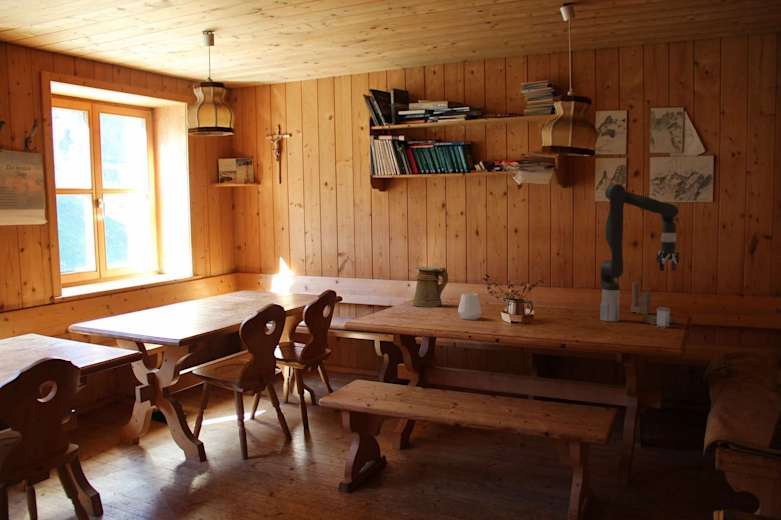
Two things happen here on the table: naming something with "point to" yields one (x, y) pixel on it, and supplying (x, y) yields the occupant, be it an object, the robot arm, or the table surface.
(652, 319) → the stand
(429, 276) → the tankard
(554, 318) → the table surface
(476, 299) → the cup
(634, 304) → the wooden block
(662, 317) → the housing
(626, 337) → the table surface
